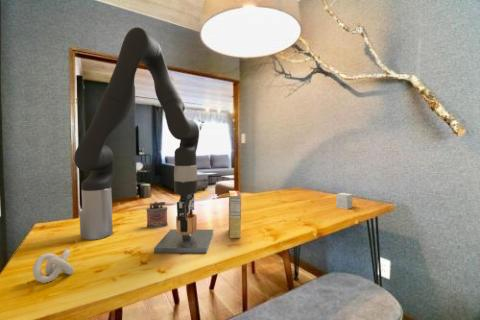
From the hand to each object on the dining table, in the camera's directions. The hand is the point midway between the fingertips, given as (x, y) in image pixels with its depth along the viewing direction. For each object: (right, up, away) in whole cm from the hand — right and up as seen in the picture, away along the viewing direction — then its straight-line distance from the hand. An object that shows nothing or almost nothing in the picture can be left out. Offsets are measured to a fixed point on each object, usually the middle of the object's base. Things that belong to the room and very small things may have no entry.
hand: (186, 227), depth 78 cm
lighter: (-16, -4, +16) cm, 23 cm away
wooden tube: (0, -1, 0) cm, 1 cm away
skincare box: (+74, -3, +45) cm, 86 cm away
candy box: (+16, -5, +8) cm, 19 cm away
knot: (-27, -6, -20) cm, 35 cm away
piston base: (0, -5, 0) cm, 5 cm away
